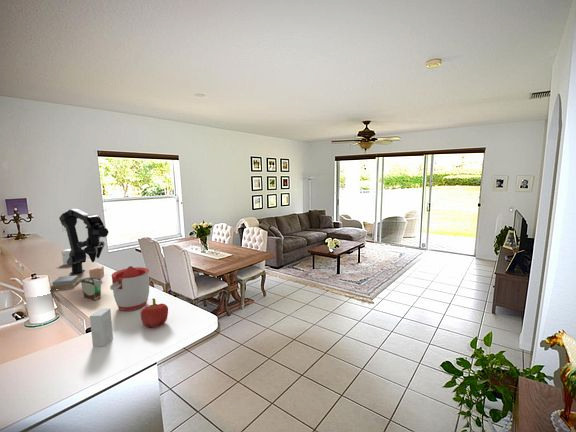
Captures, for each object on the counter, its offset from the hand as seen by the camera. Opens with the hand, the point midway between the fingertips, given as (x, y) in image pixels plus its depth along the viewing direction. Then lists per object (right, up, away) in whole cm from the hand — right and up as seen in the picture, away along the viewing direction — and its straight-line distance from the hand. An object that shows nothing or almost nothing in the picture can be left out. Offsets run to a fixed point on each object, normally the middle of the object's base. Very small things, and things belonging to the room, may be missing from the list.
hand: (95, 260), depth 173 cm
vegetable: (+65, -18, -56) cm, 88 cm away
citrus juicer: (+45, -16, -40) cm, 62 cm away
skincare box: (+51, -20, -69) cm, 88 cm away
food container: (+21, -15, -29) cm, 39 cm away
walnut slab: (-7, -13, -14) cm, 21 cm away
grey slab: (-7, -11, -14) cm, 19 cm away
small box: (-38, -8, +29) cm, 49 cm away
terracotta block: (0, -11, +1) cm, 11 cm away
